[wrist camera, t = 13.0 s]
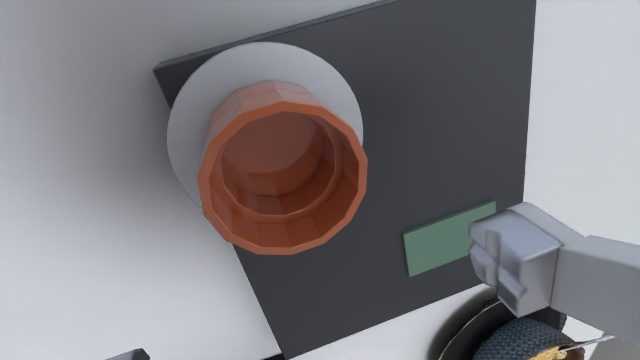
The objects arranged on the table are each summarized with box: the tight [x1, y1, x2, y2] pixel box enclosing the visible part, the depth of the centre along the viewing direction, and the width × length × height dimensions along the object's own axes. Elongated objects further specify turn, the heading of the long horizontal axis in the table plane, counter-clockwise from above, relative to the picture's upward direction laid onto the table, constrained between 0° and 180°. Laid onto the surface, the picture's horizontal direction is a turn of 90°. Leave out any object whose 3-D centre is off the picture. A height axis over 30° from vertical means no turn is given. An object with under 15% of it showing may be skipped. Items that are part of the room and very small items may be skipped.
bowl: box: [197, 80, 368, 255], centre depth 16 cm, size 7×7×4 cm
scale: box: [153, 0, 536, 360], centre depth 23 cm, size 22×21×3 cm
